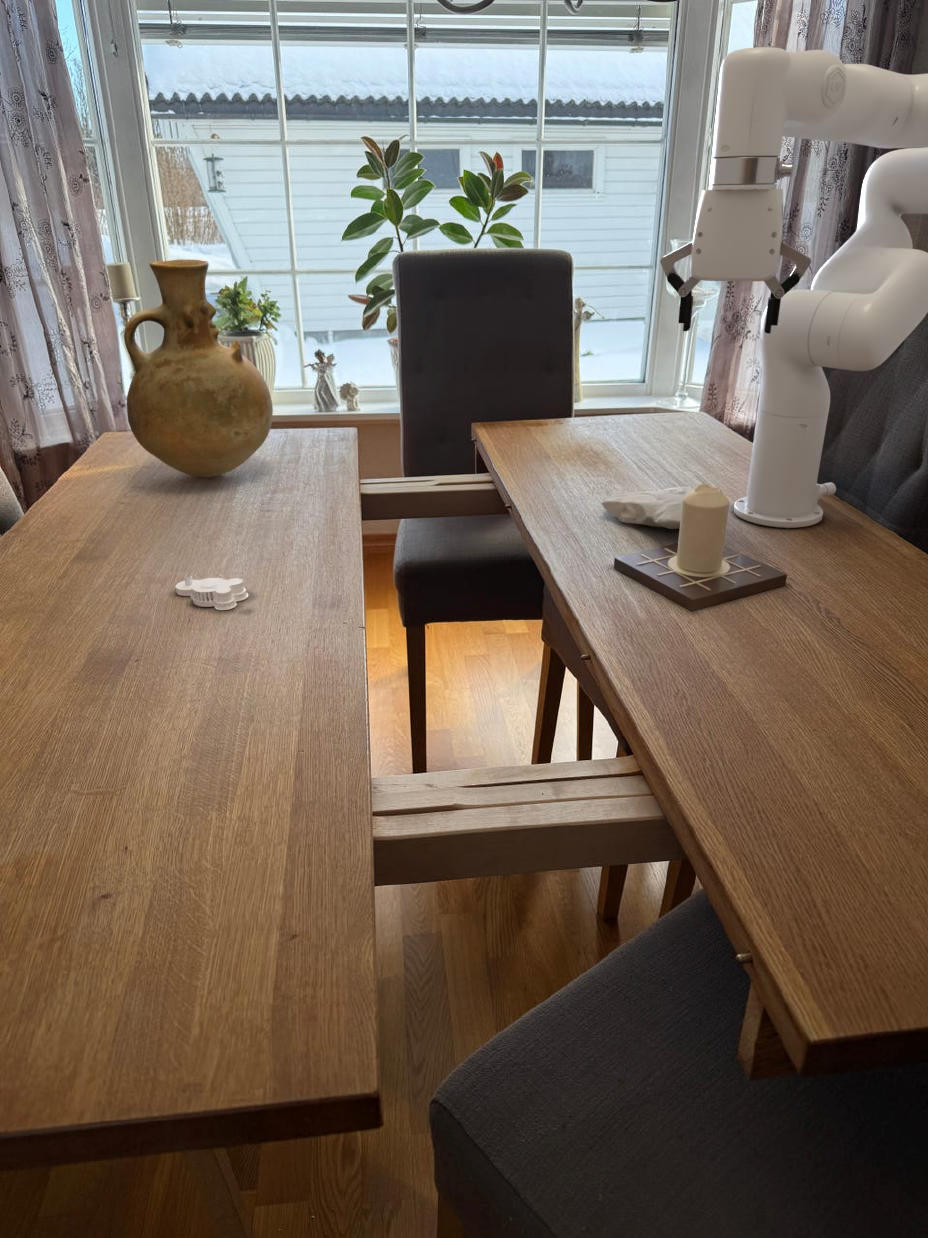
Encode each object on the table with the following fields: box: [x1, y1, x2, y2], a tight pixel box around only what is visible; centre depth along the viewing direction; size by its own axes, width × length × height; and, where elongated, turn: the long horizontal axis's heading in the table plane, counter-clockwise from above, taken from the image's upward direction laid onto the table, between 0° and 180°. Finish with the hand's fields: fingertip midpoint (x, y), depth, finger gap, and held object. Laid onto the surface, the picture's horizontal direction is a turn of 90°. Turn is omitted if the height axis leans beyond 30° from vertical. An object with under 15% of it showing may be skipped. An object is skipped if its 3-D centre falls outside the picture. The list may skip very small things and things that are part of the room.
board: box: [613, 542, 788, 612], centre depth 111 cm, size 15×15×2 cm
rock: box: [601, 486, 695, 530], centre depth 129 cm, size 21×5×15 cm
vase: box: [123, 258, 274, 478], centre depth 148 cm, size 24×24×35 cm
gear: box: [175, 574, 250, 611], centre depth 107 cm, size 9×9×2 cm
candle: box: [677, 483, 730, 573], centre depth 109 cm, size 6×6×10 cm
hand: (726, 330), depth 109 cm, fingers open, 9 cm apart
